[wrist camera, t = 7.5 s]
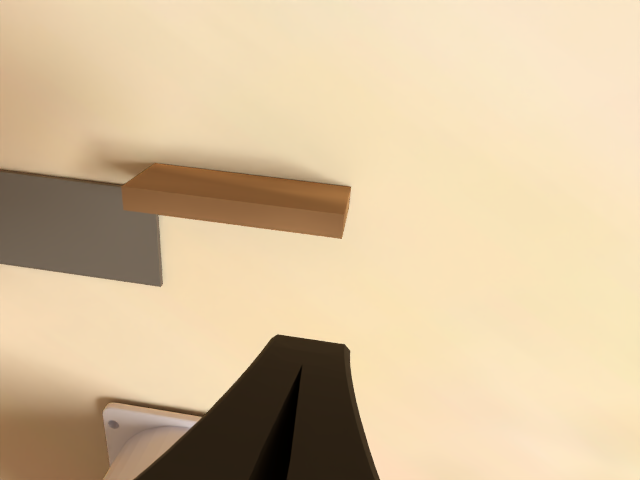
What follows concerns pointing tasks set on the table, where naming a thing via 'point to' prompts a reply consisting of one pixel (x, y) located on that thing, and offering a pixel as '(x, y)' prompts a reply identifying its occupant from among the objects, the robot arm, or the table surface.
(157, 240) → the mats
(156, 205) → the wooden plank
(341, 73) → the table surface
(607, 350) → the table surface
